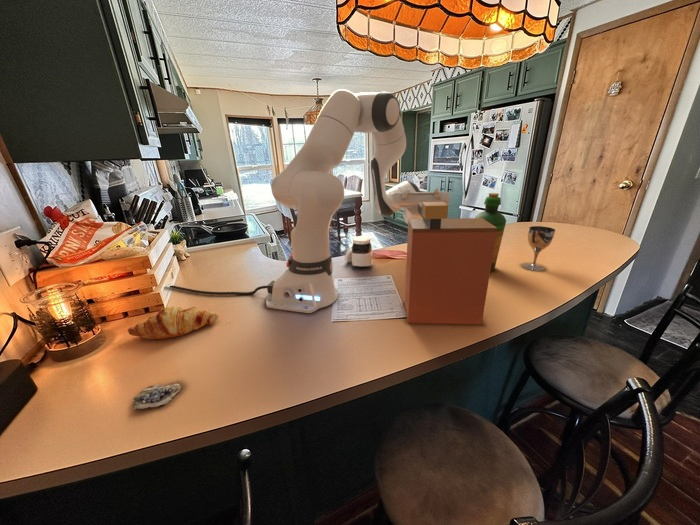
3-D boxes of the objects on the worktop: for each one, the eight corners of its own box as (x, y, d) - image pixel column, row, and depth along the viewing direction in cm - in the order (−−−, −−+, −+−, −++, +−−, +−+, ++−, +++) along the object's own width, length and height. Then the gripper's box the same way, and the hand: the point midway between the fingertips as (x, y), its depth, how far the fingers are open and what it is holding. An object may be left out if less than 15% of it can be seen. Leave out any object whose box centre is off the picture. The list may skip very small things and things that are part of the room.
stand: (407, 322, 74) (412, 228, 65) (404, 303, 84) (408, 219, 74) (481, 324, 73) (497, 227, 63) (469, 304, 82) (482, 218, 72)
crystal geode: (134, 394, 55) (131, 387, 54) (180, 376, 59) (177, 369, 58) (133, 419, 50) (129, 411, 49) (183, 397, 54) (181, 389, 53)
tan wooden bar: (424, 229, 64) (425, 205, 62) (413, 211, 84) (414, 192, 82) (446, 228, 64) (448, 205, 62) (430, 210, 83) (431, 192, 81)
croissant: (222, 325, 82) (218, 299, 83) (217, 328, 73) (213, 298, 73) (137, 343, 75) (134, 313, 76) (120, 348, 66) (116, 315, 66)
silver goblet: (544, 273, 100) (554, 233, 95) (519, 268, 105) (527, 230, 99) (546, 266, 106) (556, 227, 101) (522, 261, 111) (530, 225, 105)
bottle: (480, 275, 100) (492, 197, 90) (461, 264, 110) (470, 192, 100) (504, 271, 103) (519, 194, 92) (484, 261, 112) (495, 190, 102)
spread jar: (369, 271, 107) (369, 242, 103) (341, 269, 110) (340, 241, 105) (373, 260, 118) (373, 233, 114) (347, 259, 120) (346, 233, 116)
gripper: (389, 198, 108) (391, 183, 94) (443, 197, 106) (453, 181, 92) (389, 213, 107) (391, 200, 93) (444, 213, 105) (454, 199, 91)
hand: (422, 191), depth 93 cm, fingers open, 8 cm apart
